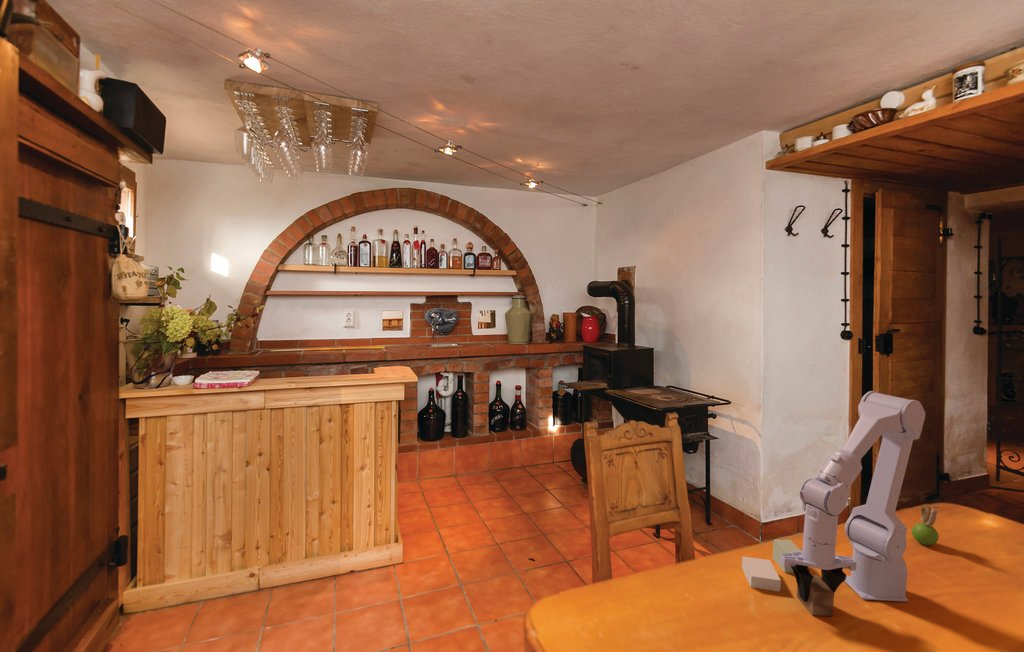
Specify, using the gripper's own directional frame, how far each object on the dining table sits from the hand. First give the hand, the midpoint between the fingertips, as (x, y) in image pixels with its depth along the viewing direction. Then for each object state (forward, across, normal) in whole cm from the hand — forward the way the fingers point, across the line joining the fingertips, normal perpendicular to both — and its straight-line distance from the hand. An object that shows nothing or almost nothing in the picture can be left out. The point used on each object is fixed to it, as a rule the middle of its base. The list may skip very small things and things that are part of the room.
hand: (814, 599), depth 101 cm
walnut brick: (+1, 0, 0) cm, 1 cm away
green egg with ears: (+2, -44, -28) cm, 52 cm away
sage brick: (+2, -2, -15) cm, 15 cm away
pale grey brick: (+2, +7, -9) cm, 12 cm away
